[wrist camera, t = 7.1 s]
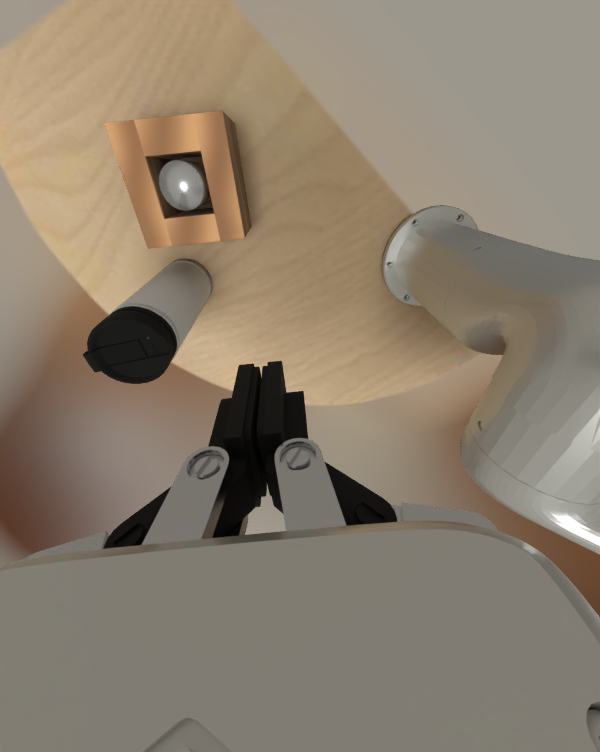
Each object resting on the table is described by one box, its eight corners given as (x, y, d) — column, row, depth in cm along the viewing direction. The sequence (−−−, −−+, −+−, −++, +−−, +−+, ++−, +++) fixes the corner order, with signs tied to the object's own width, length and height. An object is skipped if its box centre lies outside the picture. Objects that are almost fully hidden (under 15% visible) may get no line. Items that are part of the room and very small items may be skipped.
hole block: (234, 123, 32) (222, 110, 26) (251, 226, 38) (244, 238, 31) (141, 133, 32) (104, 122, 26) (171, 235, 38) (147, 248, 31)
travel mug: (154, 264, 40) (62, 330, 23) (203, 254, 39) (145, 314, 23) (173, 308, 43) (106, 394, 27) (218, 300, 43) (178, 381, 26)
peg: (213, 160, 34) (196, 158, 27) (221, 201, 36) (208, 208, 29) (177, 164, 34) (152, 162, 27) (188, 205, 36) (167, 212, 29)
